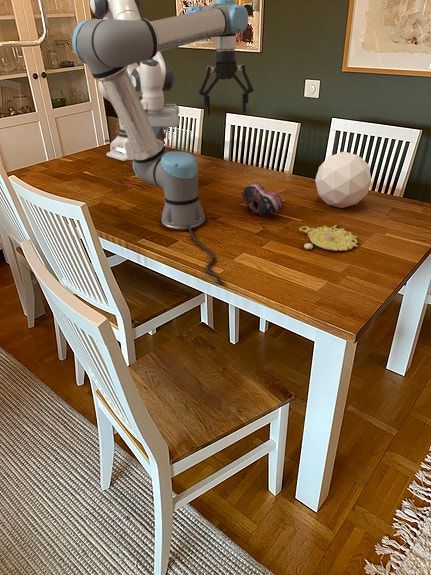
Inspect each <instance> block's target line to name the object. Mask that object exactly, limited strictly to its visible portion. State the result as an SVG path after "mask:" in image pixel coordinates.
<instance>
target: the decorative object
mask: <svg viewBox="0 0 431 575" xmlns="http://www.w3.org/2000/svg"><path fill="white" fill-rule="evenodd" d="M303 228H304V229H305V230H304V229H303ZM299 231H300V232H303V233H305V234H307V237H308V238H309V240H310V241H311V243H304V244H303V248H304V249H305V250H313V249H314V245H315V246H316V247H318V248H321V249H324V250H328V251H335V252H341V251H348V250H352V249H354V247H356V248H358V247H359V245H358V244H357V243H359V240H357V238H359V237H358V235H353V234H352V231H347V230H346V229H345V228H344V227H342V228H338V224H335V225H333V226H331V227H328V226H327V225H326V224H325V225H323V226H322V227H321V226H317V227H316V228H314V227H309V226H308V225H302V226H300V227H299ZM313 244H314V245H313Z"/></svg>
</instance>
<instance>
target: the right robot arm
mask: <svg viewBox="0 0 431 575" xmlns="http://www.w3.org/2000/svg"><path fill="white" fill-rule="evenodd" d="M248 24H249V13H248V10H247V8H246V7H245V6H244V5H243V4H237V2H236V0H213V4H209V5H206V4H205V5H197V4H196V5H190V6H188V7H187V8H186V10H185V12H184V14H180V15H174V16H170V17H166V18H161V19H160V18H159V19H156V20H151V21H150V20H148V18H141V19H139V20H118V19H103V18H89V19H85V20H82V21H81V22H79V23H78V24H77V25H76V26H75V28H74V30H73V33H72V38H71V44H72V49H73V52H74V54H75V56H76V57H77V59H78V60H79V61H81V63H83V64H85V65H86V66H87V68H88V69H89V72H90V74H91V76H92V78H93V79H94V80H97V81H98V82H99V81H101V82H102V84H103V86H104V89H105V91H106V93H107V95H108V97H109V99H110V101H111V102H110V101H109V102H110V104H111V105H112V107H113V109H114V112H115V113H116V115H117V118H119V119H118V121H119V120H120V122H121V124H122V126H123V128H124V130H125V132H126V134H127V136H128V138H129V140H130V142H131V144H132V147H133V149H134V150H133V152H132V157H133V160H132V161H133V162H132V169H133V172H134V173H135V175H136V177H138V179H140V180H141V181H143V182H144V183H147V184H150V185H152V186H155V187H157V188H160V189H163V194H164V204H163V209H162V213H161V219H160V220H161V225H162V227H163V228H165V229H167V230H170V231H175V232H176V231H177V232H185V231H186V232H187V231H189V234H190V236H191V239H192V240H193V241H194V243H196V244H197V245H198V246H199V247H200V248H202V250H204V251H205V252H206V253H208V254H209V256H211V260H210V261H209V263H208V264H207V265H206V269H205V270H206V273H207V275H209V276H212V277H214V278H215V279H216V280H217V282H218V284H219V286H223V281H222V279H221V278H220V275H219V276H218V274H216V273H214V272H212V271H210V267H211V266H212V264H213V263H214V262H215V258H216V257H215V255H214V253H213V252H212V251H211V250H210V249H209V248H207V247H206V246H204V245H203V244H202V242H200V241H199V240H198V239H197V238H196V237H195V235H194V232H193V230H195V229H198V228H201V227H202V226H203V225H204V224H205V223H206V217H205V212H204V210H203V208H202V204H201V202H200V196H199V168H198V162H197V159H196V158H195V156H194V155H193V154H191V153H188V152H186V151H178V150H174V151H173V150H172V151H168V150H167V148H166V146H165V142H164V143H163V141H161V140H159V139H157V138H156V136H155V134H154V131H153V129H152V127H151V124H150V122H149V120H148V117H147V115H146V113H145V111H144V108H143V106H142V104H141V101H140V100H141V99H140V96H139V97H138V94H137V92H136V90H135V87H134V85H133V83H132V80H131V78H130V76H129V73H128V71H127V68H128V65H131V64H134V63H137V64H138V63H140V62H141V61H143V60H146V59H153V57H155V56H156V54H157V52H160V51H162V52H164V51H167V50H171V49H175V48H178V47H182V46H186V45H190V44H194V43H198V42H201V41H204V40H208V39H212V38H214V49H215V52H214V66H211V65H206V69H205V74H204V77H203V80H202V81H201V84H200V87H199V89H198V94H199V95H200V96H202V97H203V105H204V106H206V115H207V116H211V104H210V103H211V102H210V100H211V99H210V95H209V94H210V92H211V91H212V90H213V88H214V87H215V85H216V84H217V83H218V82H219V80H231V79H233V80H234V82H236V84H237V85H238V86H239V88H240V89H241V90H242V91H243V93H241V103H242V104H241V112H242V113H243V114H246V110H247V104H248V103H249V95H250V93H253V92H254V88H253V85H252V83H251V81H250V78H249V76H248V74H247V72H246V66H245V64H243V63H241V64H239V65H237V51H236V49H237V34H242V33H243V32H245V31H246V29H247V27H248ZM213 71H214V72H215V75H214V76H213V79H212V80H211V82H210V83H209V84H208V81H209V79H210V76H211V74H212V73H213ZM237 71H239V72H240V73H241V75H242V78H243V80H244V81H245V84H246V86H247V87H246V86H245V85H244V83H243V82H242V81H241V80H240V78H239V77H238V76H237V75H236V73H237ZM207 84H208V85H207ZM206 86H207V87H206ZM205 88H206V89H205ZM224 370H226V371H227V368H226V367H224V368H223V371H224Z"/></svg>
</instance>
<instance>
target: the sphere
mask: <svg viewBox="0 0 431 575" xmlns="http://www.w3.org/2000/svg"><path fill="white" fill-rule="evenodd" d="M314 181H315V186H316V189H317V190H316V191H317V195H318V196H319V197H320V199H322V201H324V202H325V203H326V205H329V206H332V207H336V208H340V209H344V208H347V207H351V206H354V205H357V204H359V202H360V201H361V200H362V199H364V198H365V197H366V196H367V195H368V193H369V190H370V186H371V182H372V176H371V170H370V164H368V163H367V162H366V161H365V160H364V159H363V158H362V157H361V156H360V155H358V154H355V153H351V152H347V151H341V152H338V153H335V154H331V155H329V156H328V157H327V158H326V159H325V160H324V161H323V162H322V163H321V165H319V166H318V170H317V173H316V176H315V180H314Z"/></svg>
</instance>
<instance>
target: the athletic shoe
mask: <svg viewBox="0 0 431 575" xmlns="http://www.w3.org/2000/svg"><path fill="white" fill-rule="evenodd" d="M241 197H242V199H243V201H238V203H239V204H241V205H245V206H246V207H247V208H248V210H249V211H250V210H251V213H252V214H255V215H260V217H266V216H267V215H270V214H274V213H275V212H279V211H282V210H283V209H284V205H283V201H282V198H281V196H280V195H279V194H278V192H277V191H274V190H269V191H267V190H266V189H265V187H264V186H263V185H262V184H261V183H258V182H251V183H249V184H247V186H246V187H245V188H244V190H243V191H242V192H241Z"/></svg>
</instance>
